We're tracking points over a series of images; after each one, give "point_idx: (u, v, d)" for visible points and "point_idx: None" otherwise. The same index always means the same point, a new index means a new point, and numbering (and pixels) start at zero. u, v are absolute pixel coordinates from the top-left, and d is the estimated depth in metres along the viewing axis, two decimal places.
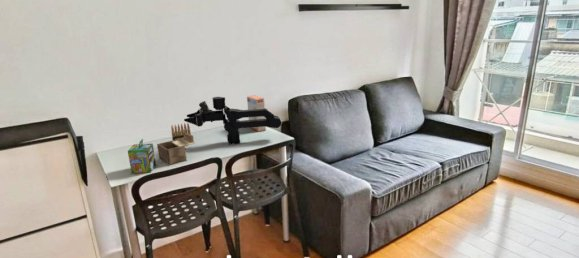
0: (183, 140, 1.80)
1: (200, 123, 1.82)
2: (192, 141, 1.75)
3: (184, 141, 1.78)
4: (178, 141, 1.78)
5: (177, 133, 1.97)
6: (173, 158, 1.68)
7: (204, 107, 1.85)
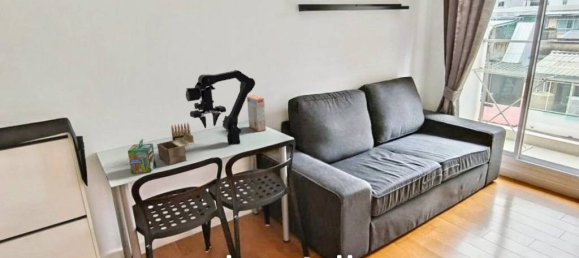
0: (183, 140, 1.80)
1: (193, 114, 1.78)
2: (192, 141, 1.75)
3: (184, 141, 1.78)
4: (178, 141, 1.78)
5: (177, 133, 1.97)
6: (173, 158, 1.68)
7: (195, 106, 1.86)
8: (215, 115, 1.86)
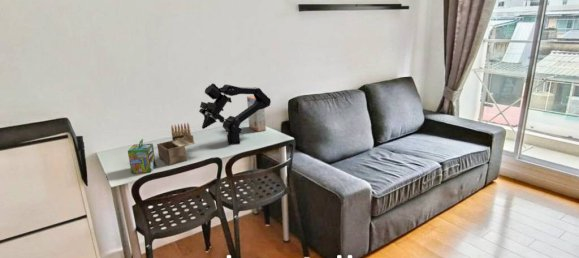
0: (183, 140, 1.80)
1: (222, 118, 1.79)
2: (192, 141, 1.75)
3: (184, 141, 1.78)
4: (178, 141, 1.78)
5: (177, 133, 1.97)
6: (173, 158, 1.68)
7: (210, 105, 1.78)
8: None
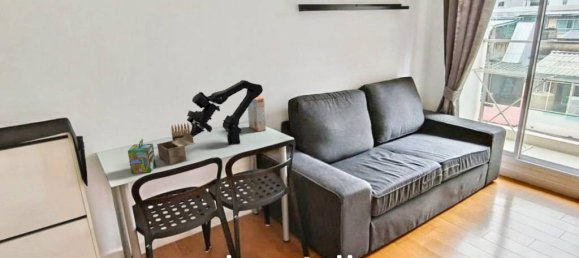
0: (183, 140, 1.80)
1: (210, 128, 1.75)
2: (192, 141, 1.75)
3: (184, 141, 1.78)
4: (178, 141, 1.78)
5: (177, 133, 1.97)
6: (173, 158, 1.68)
7: (197, 114, 1.75)
8: None
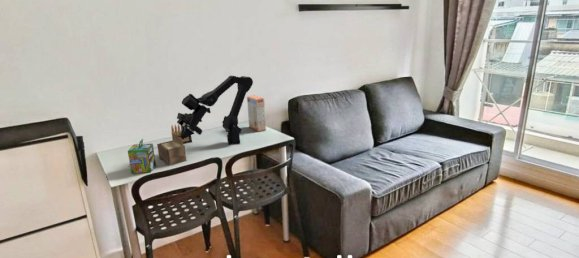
0: (172, 143, 1.76)
1: (200, 130, 1.72)
2: (181, 144, 1.72)
3: (173, 144, 1.74)
4: (167, 144, 1.75)
5: (177, 133, 1.97)
6: (173, 158, 1.68)
7: (187, 117, 1.71)
8: None
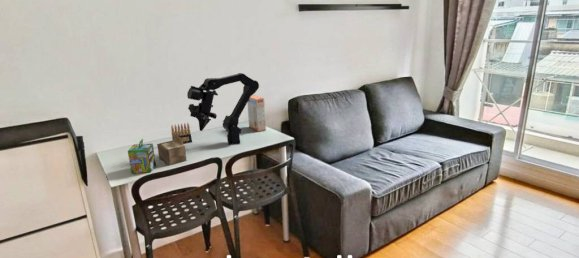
0: (172, 143, 1.76)
1: (198, 114, 1.73)
2: (181, 144, 1.72)
3: (173, 144, 1.74)
4: (167, 144, 1.75)
5: (177, 133, 1.97)
6: (173, 158, 1.68)
7: (191, 107, 1.80)
8: None
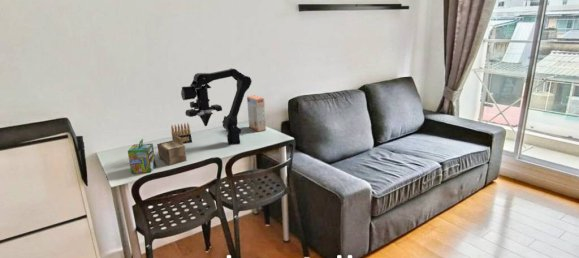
0: (172, 143, 1.76)
1: (188, 113, 1.76)
2: (181, 144, 1.72)
3: (173, 144, 1.74)
4: (167, 144, 1.75)
5: (177, 133, 1.97)
6: (173, 158, 1.68)
7: (191, 105, 1.84)
8: (207, 115, 1.83)
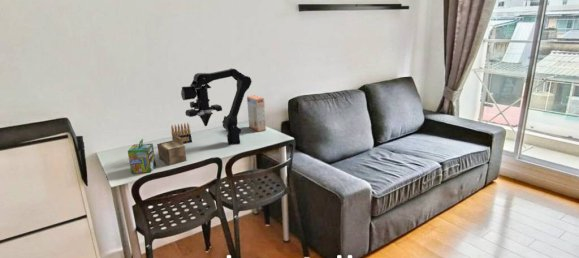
0: (172, 143, 1.76)
1: (188, 113, 1.76)
2: (181, 144, 1.72)
3: (173, 144, 1.74)
4: (167, 144, 1.75)
5: (177, 133, 1.97)
6: (173, 158, 1.68)
7: (191, 105, 1.84)
8: (207, 115, 1.83)
